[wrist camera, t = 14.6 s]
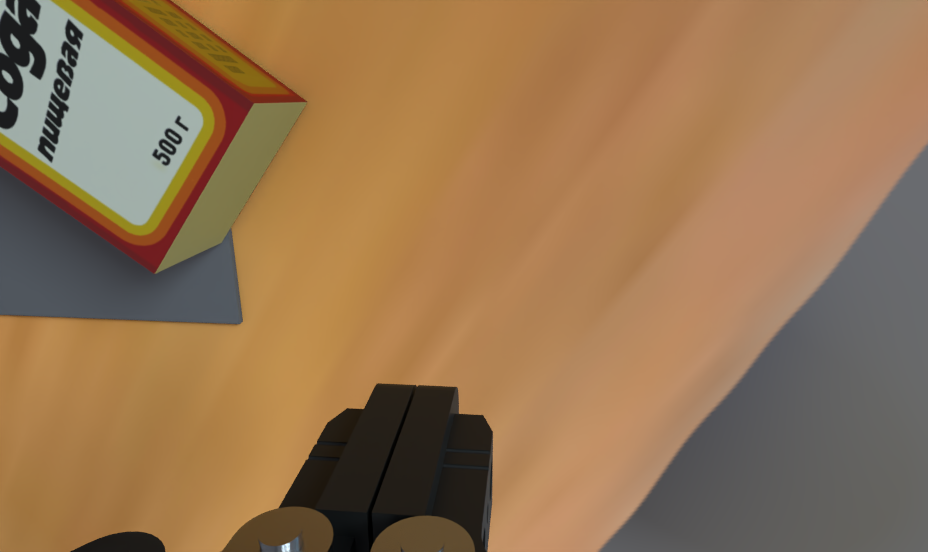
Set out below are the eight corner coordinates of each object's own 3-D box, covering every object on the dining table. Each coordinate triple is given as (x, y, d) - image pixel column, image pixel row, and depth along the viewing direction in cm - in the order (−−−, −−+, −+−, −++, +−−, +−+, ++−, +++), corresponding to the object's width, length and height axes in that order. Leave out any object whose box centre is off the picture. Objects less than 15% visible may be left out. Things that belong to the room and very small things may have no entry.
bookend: (-103, 114, 36) (-146, 117, 34) (217, 115, 34) (194, 118, 32) (-48, 310, 40) (-84, 324, 37) (242, 321, 38) (223, 337, 35)
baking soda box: (154, 274, 29) (-149, 62, 28) (221, 242, 35) (-24, 68, 34) (254, 103, 26) (-77, -140, 25) (307, 102, 33) (44, -93, 31)
